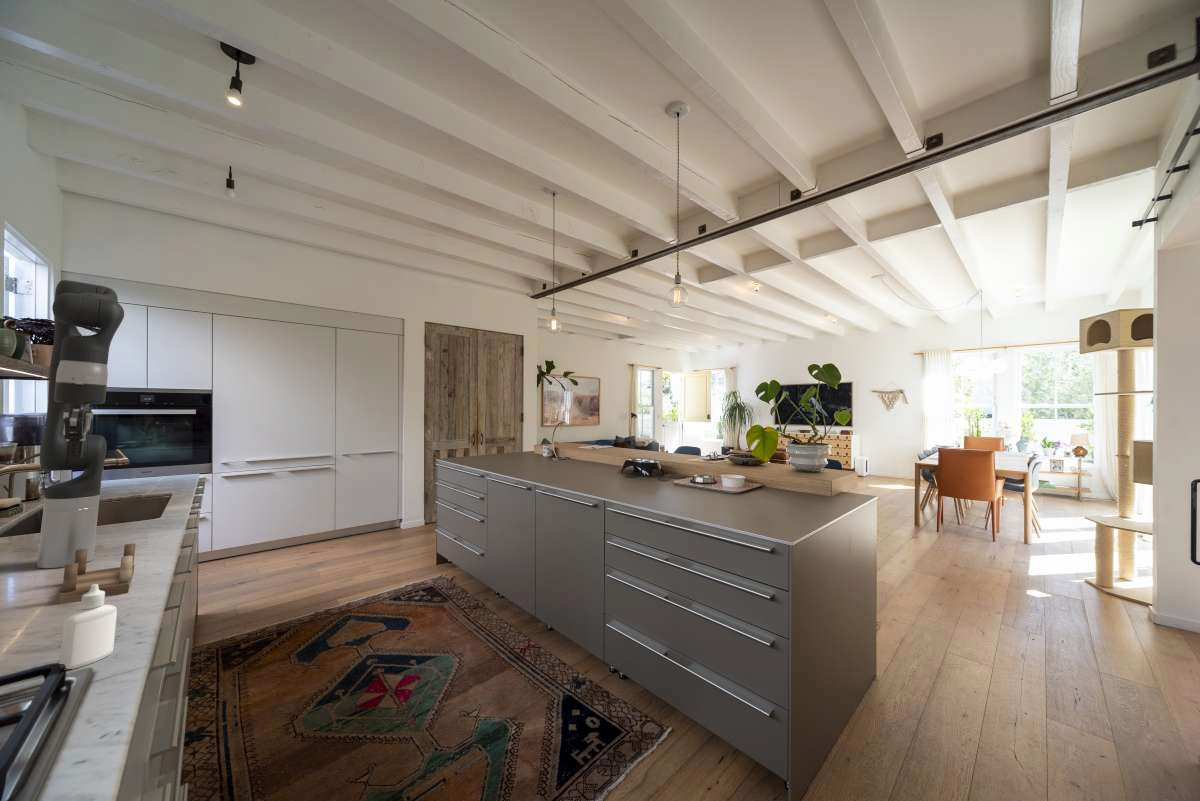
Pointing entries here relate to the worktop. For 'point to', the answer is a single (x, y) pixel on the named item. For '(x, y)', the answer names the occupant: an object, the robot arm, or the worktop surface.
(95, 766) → the worktop surface
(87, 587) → the wooden peg rack
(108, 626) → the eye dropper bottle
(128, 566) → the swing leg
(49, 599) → the worktop surface
